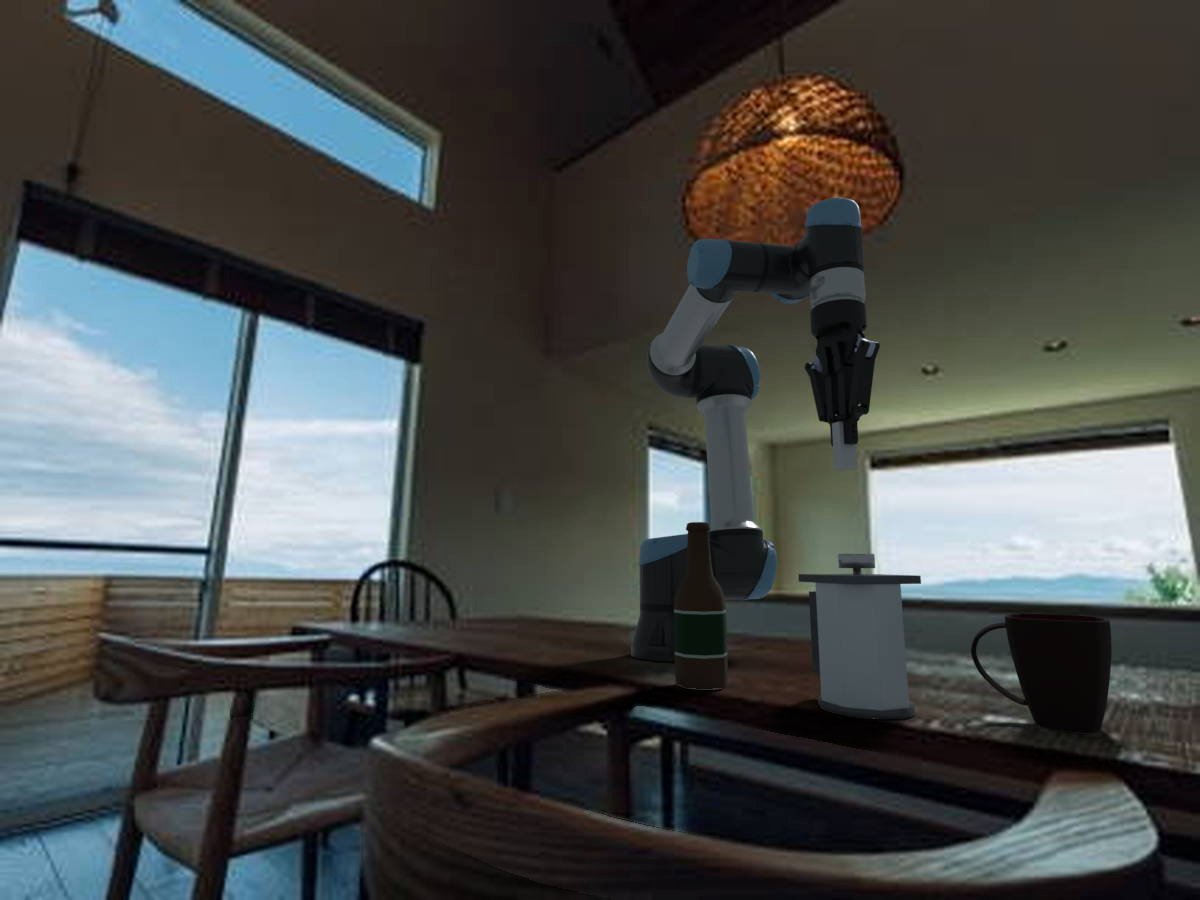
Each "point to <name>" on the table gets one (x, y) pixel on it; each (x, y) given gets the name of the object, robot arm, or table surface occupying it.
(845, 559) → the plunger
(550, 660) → the table surface
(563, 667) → the table surface
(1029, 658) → the cup
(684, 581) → the beer bottle
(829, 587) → the grey capped canister
